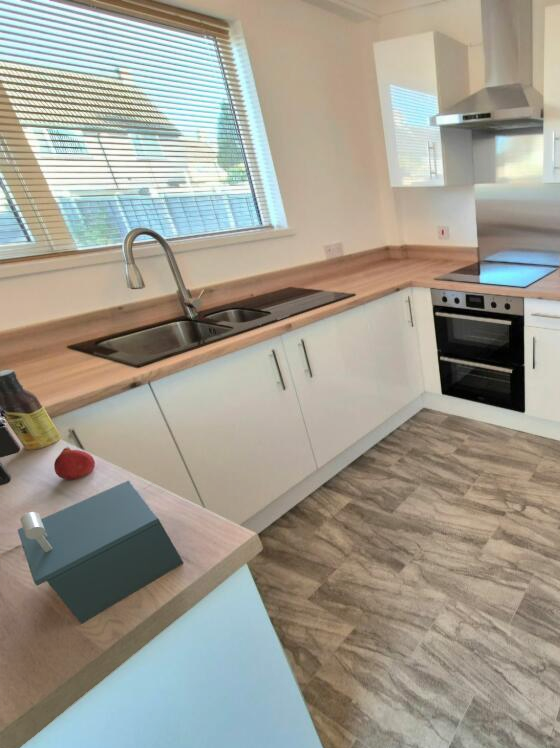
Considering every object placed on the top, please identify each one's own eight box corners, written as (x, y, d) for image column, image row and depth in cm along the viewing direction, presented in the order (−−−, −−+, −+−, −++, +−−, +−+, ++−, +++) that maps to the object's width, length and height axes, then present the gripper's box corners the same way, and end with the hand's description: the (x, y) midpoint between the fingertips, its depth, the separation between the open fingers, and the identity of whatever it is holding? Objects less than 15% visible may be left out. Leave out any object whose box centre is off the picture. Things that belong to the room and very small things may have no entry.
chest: (81, 624, 60) (46, 581, 56) (59, 570, 69) (28, 529, 65) (183, 563, 68) (160, 522, 64) (153, 521, 77) (131, 483, 73)
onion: (66, 492, 86) (44, 460, 83) (64, 480, 90) (43, 449, 86) (103, 477, 90) (84, 446, 86) (99, 467, 94) (81, 436, 90)
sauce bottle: (23, 453, 100) (-30, 377, 91) (56, 438, 105) (9, 365, 96) (38, 458, 98) (-15, 381, 89) (71, 443, 103) (24, 368, 94)
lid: (37, 586, 55) (13, 557, 53) (20, 533, 64) (-1, 507, 62) (160, 522, 64) (145, 495, 62) (130, 483, 73) (116, 459, 71)
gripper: (-115, 343, 49) (-28, 457, 56) (-168, 381, 39) (-54, 513, 47) (-20, 326, 53) (50, 434, 61) (-46, 356, 44) (40, 481, 51)
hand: (5, 468), depth 54 cm, fingers open, 8 cm apart
